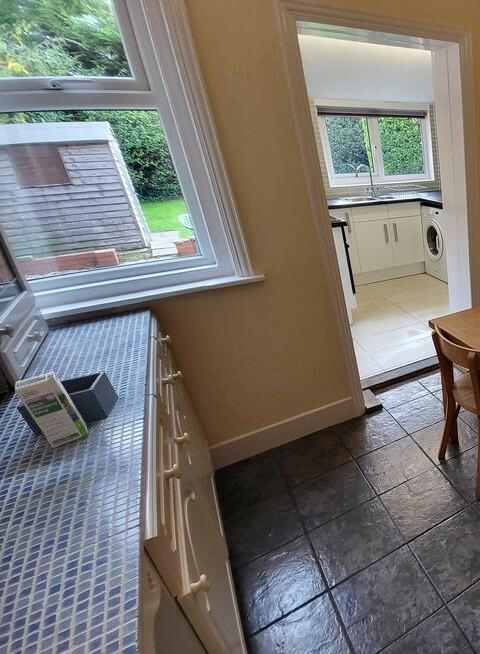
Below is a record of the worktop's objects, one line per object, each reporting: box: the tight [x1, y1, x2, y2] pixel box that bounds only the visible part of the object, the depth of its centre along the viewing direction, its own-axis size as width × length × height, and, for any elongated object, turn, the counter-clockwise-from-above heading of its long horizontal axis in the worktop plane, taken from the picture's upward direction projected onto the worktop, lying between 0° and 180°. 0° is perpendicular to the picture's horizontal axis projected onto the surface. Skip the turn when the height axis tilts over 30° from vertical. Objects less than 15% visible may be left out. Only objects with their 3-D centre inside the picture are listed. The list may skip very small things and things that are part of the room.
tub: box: [16, 370, 119, 437], centre depth 95 cm, size 12×10×8 cm
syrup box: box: [14, 370, 89, 449], centre depth 86 cm, size 6×6×14 cm
